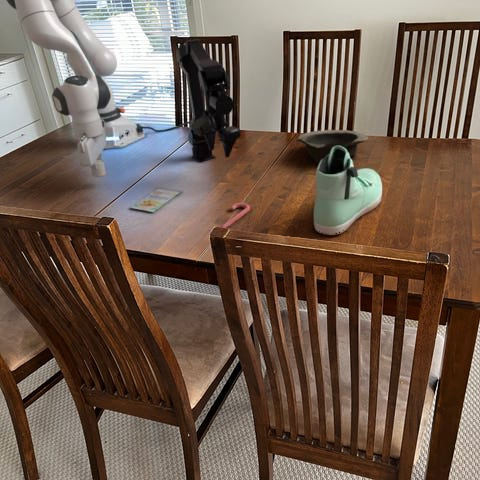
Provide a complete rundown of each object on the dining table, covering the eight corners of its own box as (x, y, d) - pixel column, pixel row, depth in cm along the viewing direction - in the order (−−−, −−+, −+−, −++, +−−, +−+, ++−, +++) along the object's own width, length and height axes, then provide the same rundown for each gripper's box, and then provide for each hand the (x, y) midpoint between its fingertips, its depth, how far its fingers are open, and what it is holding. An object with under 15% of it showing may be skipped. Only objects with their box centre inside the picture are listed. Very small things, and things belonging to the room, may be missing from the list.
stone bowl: (325, 174, 159) (324, 147, 155) (285, 157, 179) (283, 133, 175) (382, 156, 168) (383, 130, 164) (338, 142, 188) (338, 118, 184)
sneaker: (389, 187, 148) (396, 123, 138) (356, 242, 123) (361, 168, 112) (346, 181, 154) (350, 119, 144) (306, 232, 129) (307, 161, 118)
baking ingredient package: (130, 206, 148) (157, 187, 159) (130, 208, 148) (157, 189, 160) (153, 211, 144) (180, 191, 156) (153, 212, 145) (180, 192, 156)
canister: (95, 178, 161) (92, 165, 159) (90, 174, 164) (87, 162, 162) (108, 174, 163) (105, 162, 161) (103, 170, 166) (100, 158, 164)
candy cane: (207, 226, 136) (206, 221, 135) (237, 204, 146) (237, 200, 145) (224, 231, 132) (223, 227, 132) (254, 208, 143) (253, 204, 142)
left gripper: (89, 139, 146) (99, 180, 153) (105, 118, 164) (113, 156, 171) (69, 140, 146) (80, 181, 154) (87, 119, 164) (96, 157, 171)
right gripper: (178, 106, 153) (184, 152, 161) (209, 118, 140) (214, 168, 148) (207, 99, 159) (212, 144, 167) (240, 110, 145) (243, 158, 153)
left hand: (97, 168), depth 162 cm, fingers closed on canister, 4 cm apart
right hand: (219, 153), depth 159 cm, fingers open, 9 cm apart
